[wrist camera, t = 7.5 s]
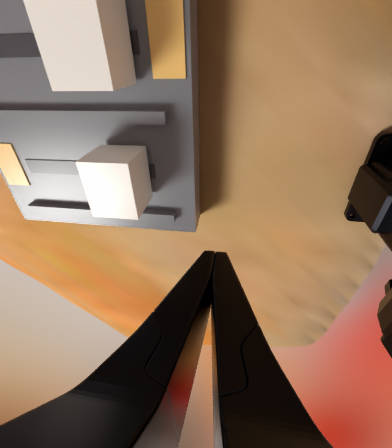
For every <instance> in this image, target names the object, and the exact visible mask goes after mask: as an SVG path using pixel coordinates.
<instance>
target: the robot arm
mask: <svg viewBox="0 0 392 448" xmlns="http://www.w3.org/2000/svg"><path fill="white" fill-rule="evenodd" d="M384 138H387V140H386V142H385V143H383V144H380V142H381V140H382V139H384ZM348 200H349V202H348V205H347V207H346V210H345V212H344V215H345V217H346V219H347V220H348V221H356V222H365V223H366V225H367V226H368V227H369V229H370V230H371V231H372V232H373V233H378V234H379V235H380V237H381V238H382V239H383V241H384V242H385V243H386V245H387V246H388V247H389V249H391V251H392V132H382V133H380V134H378V135H377V136H376V137H375V138H374V140H373V142H372V145H371V147H370V150H369V152H368V155H367V157H366V160H365V162H364V164H363V165H362V166H361V167H360V168H359V170H358V173H357V176H356V178H355V181H354V183H353V186H352V188H351V191H350V193H349V196H348ZM352 213H355V214H354V215H352V216H350V214H352ZM385 294H386V296H385V297H384V298H383V299H382V300H381V302H380V304H379V309H378V314H377V316H378V319H379V323H380V327H381V330H382V333H383V335H382V337H381V342H382V343H383V345H384V347H385V348H386V350H387V351H388V353H389V355H390V356H391V358H392V279H390V280H389V281H388V282H387V284H386V285H385ZM210 309H211V333H212V379H213V429H214V448H333V447H332V445H331V444H330V443H329V442H328V441H327V440H326V438H325V437H324V436H323V435H322V433H321V432H320V431H319V429H318V428H317V426H316V425H315V424H314V422H313V421H312V419H311V417H310V416H309V414H308V413H307V411H306V409H305V407H304V406H303V404H302V403H301V401H300V399H299V397H298V396H297V394H296V392H295V391H294V389H293V387H292V386H291V384H290V382H289V381H288V379H287V377H286V376H285V374H284V372H283V371H282V369H281V367H280V365H279V364H278V362H277V360H276V358H275V356H274V355H273V353H272V351H271V349H270V347H269V345H268V343H267V341H266V339H265V337H264V335H263V332H262V330H261V328H260V326H259V325H258V321H257V319H256V317H255V315H254V313H253V310H252V308H251V306H250V304H249V301H248V299H247V297H246V295H245V292H244V290H243V288H242V286H241V284H240V281H239V279H238V277H237V275H236V272H235V270H234V268H233V266H232V263H231V261H230V259H229V257H228V255H227V253H226V252H216V253H215V252H214V251H204V252H203V253H202V254H201V256H200V257H199V258H198V259H197V260H196V261H195V263H194V264H193V265H192V266H191V267H190V269H189V270H188V271H187V272H186V273H185V274H184V276H183V277H182V278H181V279H180V280H179V281H178V283H177V284H176V285H175V286H174V287H173V289H172V290H171V291H170V292H169V293H168V294H167V296H166V297H165V298H164V299H163V300H162V302H161V303H160V304H159V305H158V306H157V307H156V309H155V310H154V312H152V313H151V314H150V316H149V317H148V318H147V319H146V320H145V321H144V322H143V324H142V325H141V326H140V327H139V328H138V329H137V330H136V331H135V332H134V333H133V334H132V335H131V336H130V337H129V338H128V339H127V340H126V341H125V342H124V343H123V344H122V345H121V346H120V347H119V348H118V349H117V350H116V351H115V352H114V353H113V354H112V355H111V356H110V357H108V358H107V359H106V360H105V361H104V362H103V363H102V364H101V365H100V366H99V367H98V368H97V369H96V370H95V371H94V372H93V373H92V374H90V375H89V376H88V377H87V378H86V379H85V380H84V381H82V382H81V383H80V384H79V385H77V386H76V387H75V388H73V389H72V390H70V391H68V392H67V393H65V394H63V395H61V396H59V397H57V398H55V399H53V400H51V401H49V402H47V403H45V404H43V405H41V406H39V407H37V408H35V409H33V410H31V411H29V412H26V413H24V414H22V415H20V416H19V417H16V418H14V419H12V420H10V421H8V422H6V423H4V424H2V425H0V448H178V443H179V441H180V437H181V432H182V428H183V424H184V419H185V415H186V411H187V407H188V403H189V398H190V394H191V390H192V386H193V382H194V377H195V373H196V369H197V365H198V360H199V356H200V352H201V347H202V343H203V339H204V335H205V331H206V327H207V322H208V318H209V314H210Z"/></svg>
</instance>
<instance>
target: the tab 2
mask: <svg viewBox="0 0 392 448" xmlns="http://www.w3.org/2000/svg"><path fill="white" fill-rule="evenodd" d="M76 165H77V169H78V172H79V175H80V178H81V181H82V184H83V187H84V190H85V193H86V196H87V199H88V203H89V206H90V209H91V212H92V215H93V217H105V218H119V219H133V220H139V218H140V216H141V215H142V213H143V212H144V210H145V208H146V207H147V205H148V203H149V202H150V200H151V198H152V197H153V194H152V187H151V180H150V173H149V166H148V159H147V152H146V146H132V145H100V146H98V147H97V148H95V149H94V150H92V151H91V152H89V153H88V154H86V155H85V156H83V157H82V158H80V159H79V160H77V161H76Z"/></svg>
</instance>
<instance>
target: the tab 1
mask: <svg viewBox="0 0 392 448" xmlns="http://www.w3.org/2000/svg"><path fill="white" fill-rule="evenodd" d="M23 2H24V5H25V8H26V11H27V14H28V17H29V20H30V23H31V26H32V29H33V32H34V36H35V39H36V42H37V45H38V48H39V51H40V54H41V57H42V60H43V63H44V66H45V70H46V73H47V76H48V79H49V82H50V85H51V88H52V91H115V90H118V89H121V88H124V87H128V86H131V85H134V84H137V82H136V75H135V68H134V61H133V54H132V47H131V40H130V32H129V25H128V18H127V11H126V4H125V0H23Z"/></svg>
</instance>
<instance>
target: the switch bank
mask: <svg viewBox="0 0 392 448" xmlns="http://www.w3.org/2000/svg"><path fill="white" fill-rule="evenodd" d="M125 4H126V11H127V18H128V25H129V32H130V40H131V47H132V54H133V61H134V68H135V75H136V82H137V84H134V85H131V86H128V87H124V88H121V89H118V90H115V91H52V88H51V85H50V82H49V79H48V76H47V73H46V70H45V66H44V63H43V60H42V57H41V54H40V51H39V48H38V45H37V42H36V39H35V36H34V32H33V29H32V26H31V23H30V20H29V17H28V14H27V11H26V8H25V5H24V2H23V0H0V172H1V174H2V176H3V178H4V180H5V181H6V183H7V185H8V187H9V189H10V191H11V193H12V195H13V197H14V199H15V201H16V203H17V204H18V206H19V208H20V210H21V212H22V214H23V216H24V218H25V219H27V220H40V221H53V222H66V223H80V224H93V225H106V226H119V227H132V228H145V229H158V230H171V231H184V232H196V230H197V226H198V222H199V218H200V165H199V89H198V13H197V0H125ZM100 145H132V146H146V152H147V159H148V166H149V173H150V180H151V187H152V194H153V197H152V198H151V200H150V202H149V203H148V205H147V207H146V208H145V210H144V212H143V213H142V215H141V216H140V218H139V220H133V219H119V218H105V217H93V215H92V212H91V209H90V206H89V203H88V199H87V196H86V193H85V190H84V187H83V184H82V181H81V178H80V175H79V172H78V169H77V165H76V161H77V160H79V159H80V158H82V157H83V156H85V155H86V154H88V153H89V152H91V151H92V150H94V149H95V148H97V147H98V146H100Z"/></svg>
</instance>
